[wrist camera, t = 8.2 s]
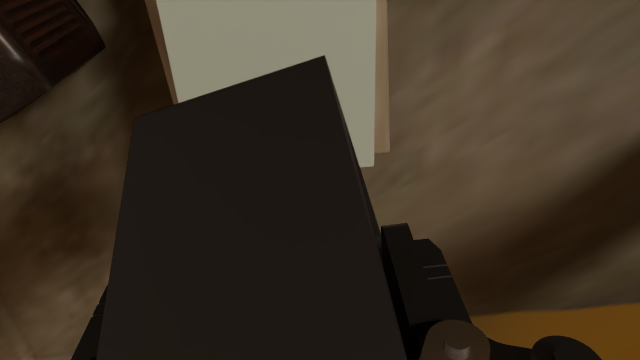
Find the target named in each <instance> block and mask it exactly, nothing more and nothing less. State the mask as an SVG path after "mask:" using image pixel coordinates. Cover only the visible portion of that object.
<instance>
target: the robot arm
mask: <svg viewBox="0 0 640 360" xmlns="http://www.w3.org/2000/svg"><path fill="white" fill-rule="evenodd" d="M381 245H382V265H383V269H384V273H385V277H386V280H387V284H388V288H389V292H390V296H391V299H392V303H393V307H394V311H395V315H396V318H397V322H398V326H399V330H400V334H401V337H402V341H403V345H404V349H405V353H406V356H407V360H601V358H600V357H599V356H598V355H597V354H596V353H595V352H594V351H593V350H592V349H591V348H590V347H588V346H586V345H585V344H583V343H581V342H580V341H577V340H575V339H572V338H569V337H565V336H548V337H544V338H542V339H540V340H539V341H537V342H536V343H535V344H534V346H533V348H532V349H529V348H523V347H517V346H511V345H506V344H502V343H499V342H495V341H493V340H491V339H489V338H488V337H486V335H485V334H484V333H483V332H482V331H481V330H480V329H479V328H477V327H476V326H474V325H473V324H472V322H471V320H470V318H469V315H468V313H467V311H466V308H465V306H464V304H463V301H462V299H461V297H460V294H459V292H458V289H457V287H456V285H455V282H454V280H453V278H452V277H451V273H450V271H449V268H448V266H447V264H446V261H445V259H444V256H443V254H442V252H441V250H440V249H439V248H438V247H437V246H436V245H435V244H434V243H432V242H431V241H430V240H429V239H421V240H413V237H412V234H411V231H410V229H409V226H408V224H407V223H402V224H393V225H384V226H381ZM107 288H108V286H107V287H106V289H105V291H104V293H103V295H102V297H101V299H100V301H99V305H97V307H96V309H95V311H94V313H93V317H91V319H90V321H89V324H88V326H87V328H86V330H85V332H84V334H83V336H82V338H81V340H80V342H79V344H78V346H77V348H76V350H75V352H74V354H73V356H72V359H71V360H96V358H97V352H98V345H99V339H100V333H101V326H102V320H103V314H104V307H105V301H106V295H107Z"/></svg>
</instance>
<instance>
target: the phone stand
mask: <svg viewBox="0 0 640 360" xmlns="http://www.w3.org/2000/svg"><path fill="white" fill-rule="evenodd" d="M96 360H407V356H406V353H405V349H404V345H403V341H402V337H401V334H400V330H399V326H398V322H397V318H396V315H395V311H394V307H393V303H392V299H391V296H390V292H389V288H388V284H387V280H386V277H385V273H384V269H383V265H382V245H381V233H380V230H379V227H378V224H377V220H376V217H375V214H374V211H373V208H372V204H371V201H370V198H369V195H368V192H367V188H366V185H365V182H364V179H363V176H362V172H361V169H360V166H359V163H358V160H357V156H356V153H355V150H354V147H353V143H352V140H351V137H350V134H349V131H348V127H347V124H346V121H345V118H344V115H343V111H342V108H341V105H340V102H339V99H338V95H337V92H336V89H335V86H334V83H333V79H332V76H331V73H330V70H329V67H328V63H327V60H326V57H325V55H323V56H320V57H317V58H314V59H311V60H308V61H305V62H302V63H299V64H296V65H293V66H290V67H287V68H283V69H280V70H277V71H274V72H271V73H268V74H265V75H262V76H259V77H256V78H253V79H250V80H247V81H244V82H241V83H238V84H235V85H232V86H229V87H226V88H223V89H220V90H217V91H214V92H210V93H207V94H204V95H201V96H198V97H195V98H192V99H189V100H186V101H183V102H180V103H177V104H174V105H171V106H168V107H165V108H162V109H159V110H156V111H153V112H150V113H147V114H144V115H141V116H137V117H135V119H134V124H133V130H132V137H131V143H130V149H129V156H128V162H127V168H126V175H125V181H124V187H123V194H122V200H121V206H120V213H119V219H118V225H117V232H116V238H115V244H114V251H113V257H112V263H111V269H110V276H109V282H108V288H107V295H106V301H105V307H104V314H103V320H102V326H101V333H100V339H99V345H98V352H97V358H96Z"/></svg>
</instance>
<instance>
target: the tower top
mask: <svg viewBox="0 0 640 360" xmlns="http://www.w3.org/2000/svg"><path fill="white" fill-rule="evenodd" d="M156 2H157V7H158V11H159V16H160V21H161V25H162V30H163V34H164V39H165V43H166V48H167V53H168V57H169V62H170V66H171V71H172V76H173V80H174V85H175V89H176V94H177V99H178V103H180V102H183V101H186V100H189V99H192V98H195V97H198V96H201V95H204V94H207V93H210V92H214V91H217V90H220V89H223V88H226V87H229V86H232V85H235V84H238V83H241V82H244V81H247V80H250V79H253V78H256V77H259V76H262V75H265V74H268V73H271V72H274V71H277V70H280V69H283V68H287V67H290V66H293V65H296V64H299V63H302V62H305V61H308V60H311V59H314V58H317V57H320V56H323V55H325V57H326V60H327V63H328V67H329V70H330V73H331V76H332V79H333V83H334V86H335V89H336V92H337V95H338V99H339V102H340V105H341V108H342V111H343V115H344V118H345V121H346V124H347V127H348V131H349V134H350V137H351V140H352V143H353V147H354V150H355V153H356V156H357V160H358V163H359V166H360V167H369V166H374V126H375V59H376V0H156Z"/></svg>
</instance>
